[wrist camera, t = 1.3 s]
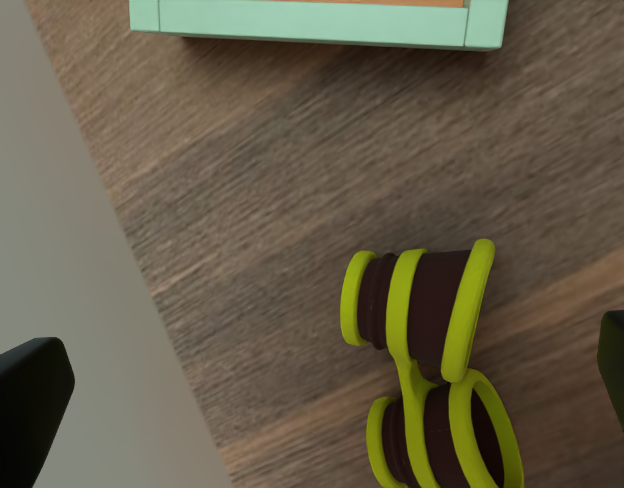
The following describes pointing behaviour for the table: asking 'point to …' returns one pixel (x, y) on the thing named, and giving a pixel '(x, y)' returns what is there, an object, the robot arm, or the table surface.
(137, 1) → the mount tray
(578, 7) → the table surface
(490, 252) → the opera glasses
